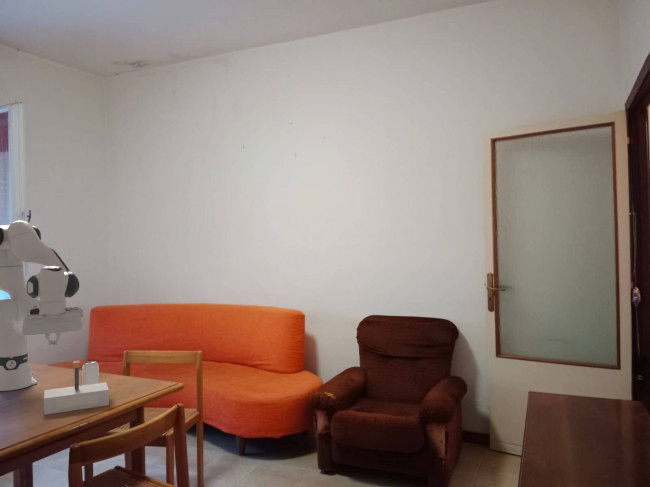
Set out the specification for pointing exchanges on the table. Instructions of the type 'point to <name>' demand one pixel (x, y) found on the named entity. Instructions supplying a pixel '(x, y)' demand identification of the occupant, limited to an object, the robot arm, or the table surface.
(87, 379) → the can
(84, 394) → the box
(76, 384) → the lever
